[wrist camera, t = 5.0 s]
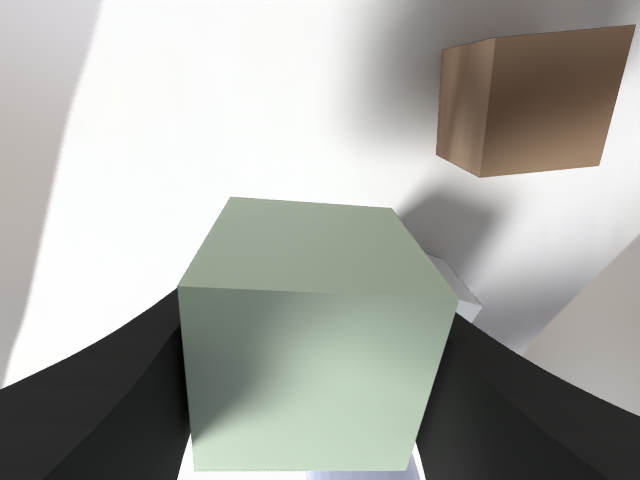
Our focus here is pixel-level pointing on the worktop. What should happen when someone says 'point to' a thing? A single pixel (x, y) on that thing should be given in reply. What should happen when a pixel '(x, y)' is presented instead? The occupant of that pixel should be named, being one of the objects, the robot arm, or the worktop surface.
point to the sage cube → (310, 338)
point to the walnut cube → (530, 100)
